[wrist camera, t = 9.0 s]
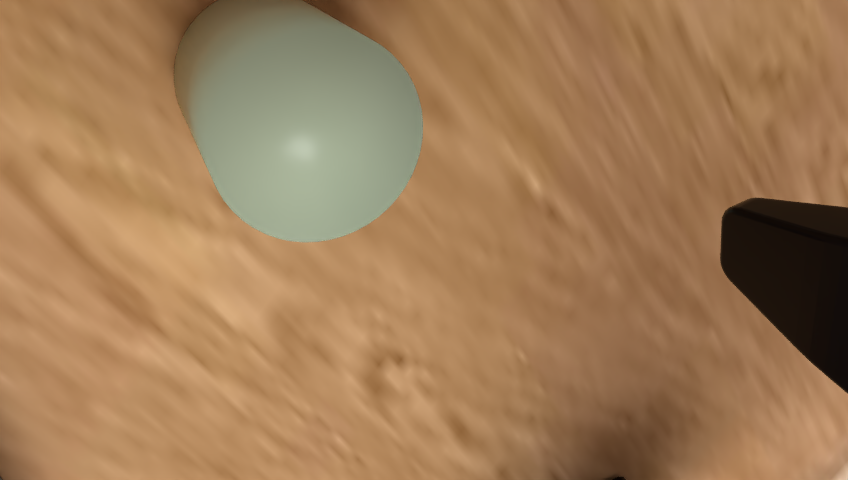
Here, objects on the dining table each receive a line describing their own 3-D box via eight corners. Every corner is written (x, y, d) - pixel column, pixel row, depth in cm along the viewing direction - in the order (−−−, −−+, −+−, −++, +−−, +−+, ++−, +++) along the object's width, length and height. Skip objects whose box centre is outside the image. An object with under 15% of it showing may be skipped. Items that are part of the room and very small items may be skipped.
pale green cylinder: (327, -29, 17) (405, 2, 13) (360, 135, 20) (436, 203, 16) (146, 12, 16) (172, 61, 12) (204, 182, 18) (242, 270, 14)
